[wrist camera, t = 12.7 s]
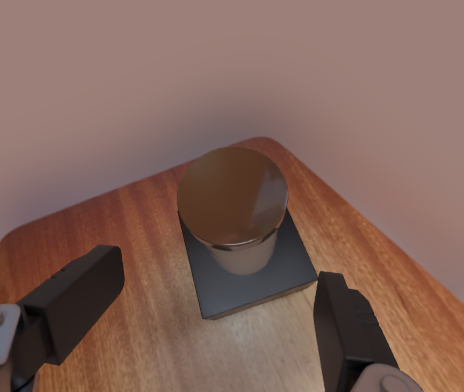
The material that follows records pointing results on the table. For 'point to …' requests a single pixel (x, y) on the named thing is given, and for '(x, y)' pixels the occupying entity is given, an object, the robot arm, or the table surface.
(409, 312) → the table surface
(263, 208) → the jar
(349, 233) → the table surface
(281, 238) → the stand
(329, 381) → the robot arm
